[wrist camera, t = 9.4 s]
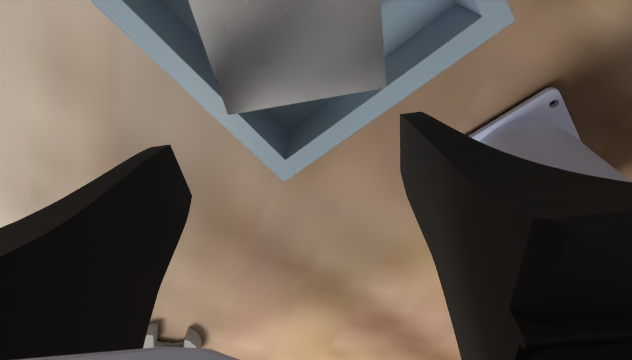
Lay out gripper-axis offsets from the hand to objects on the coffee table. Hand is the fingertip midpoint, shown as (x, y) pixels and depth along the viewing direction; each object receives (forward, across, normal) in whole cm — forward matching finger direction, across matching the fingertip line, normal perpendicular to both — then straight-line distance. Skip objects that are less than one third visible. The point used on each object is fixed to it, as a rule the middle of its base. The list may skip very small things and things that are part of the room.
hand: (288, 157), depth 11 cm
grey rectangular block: (+10, -1, -4) cm, 10 cm away
